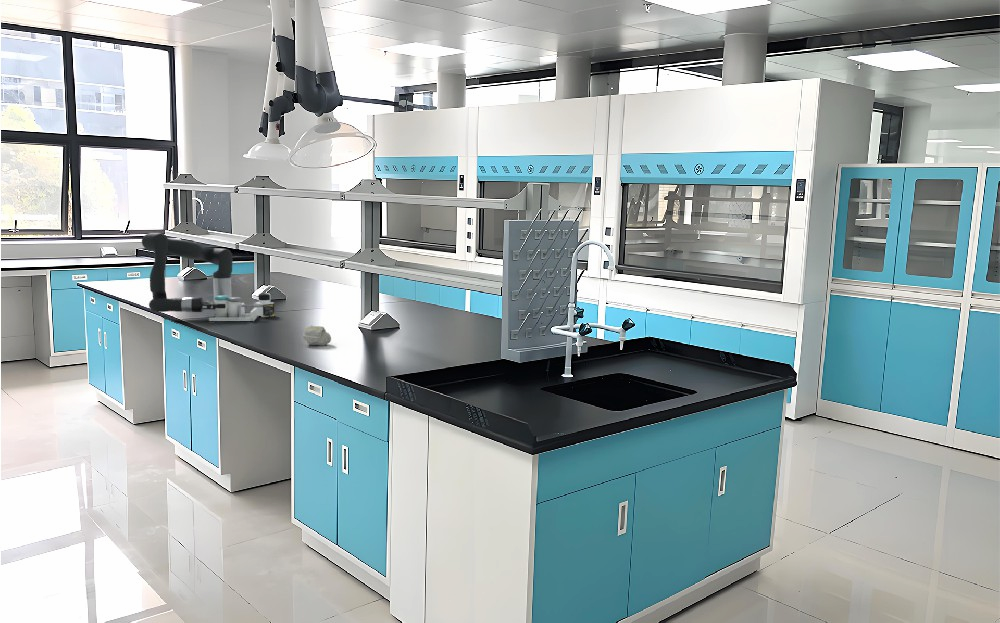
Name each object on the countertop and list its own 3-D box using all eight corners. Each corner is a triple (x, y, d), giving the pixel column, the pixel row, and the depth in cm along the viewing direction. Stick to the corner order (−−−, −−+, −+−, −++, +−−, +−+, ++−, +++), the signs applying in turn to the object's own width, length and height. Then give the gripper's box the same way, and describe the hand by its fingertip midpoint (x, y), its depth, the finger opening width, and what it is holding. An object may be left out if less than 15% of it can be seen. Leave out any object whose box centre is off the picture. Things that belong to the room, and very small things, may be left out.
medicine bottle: (263, 317, 399) (262, 294, 397) (255, 315, 403) (254, 293, 401) (274, 315, 404) (274, 293, 403) (266, 314, 409) (266, 292, 407)
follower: (242, 317, 396) (242, 302, 395) (264, 317, 398) (264, 302, 397) (239, 321, 387) (238, 305, 385) (261, 321, 388) (261, 305, 387)
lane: (215, 316, 397) (215, 307, 396) (257, 316, 400) (257, 307, 400) (208, 322, 381) (208, 312, 381) (252, 322, 385) (252, 312, 384)
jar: (216, 316, 392) (216, 295, 391) (229, 316, 393) (229, 295, 392) (214, 318, 386) (213, 297, 384) (227, 318, 387) (226, 297, 385)
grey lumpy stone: (331, 347, 334) (329, 344, 343) (332, 328, 333) (330, 326, 343) (303, 346, 330) (301, 343, 339) (304, 327, 329) (302, 324, 339)
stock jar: (228, 317, 393) (229, 296, 392) (241, 318, 395) (242, 297, 393) (226, 320, 387) (226, 298, 385) (239, 320, 388) (240, 299, 387)
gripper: (188, 299, 379) (223, 299, 381) (195, 295, 393) (229, 295, 396) (189, 314, 380) (224, 314, 383) (196, 309, 394) (229, 309, 397)
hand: (226, 305), depth 389 cm, fingers closed on jar, 6 cm apart
